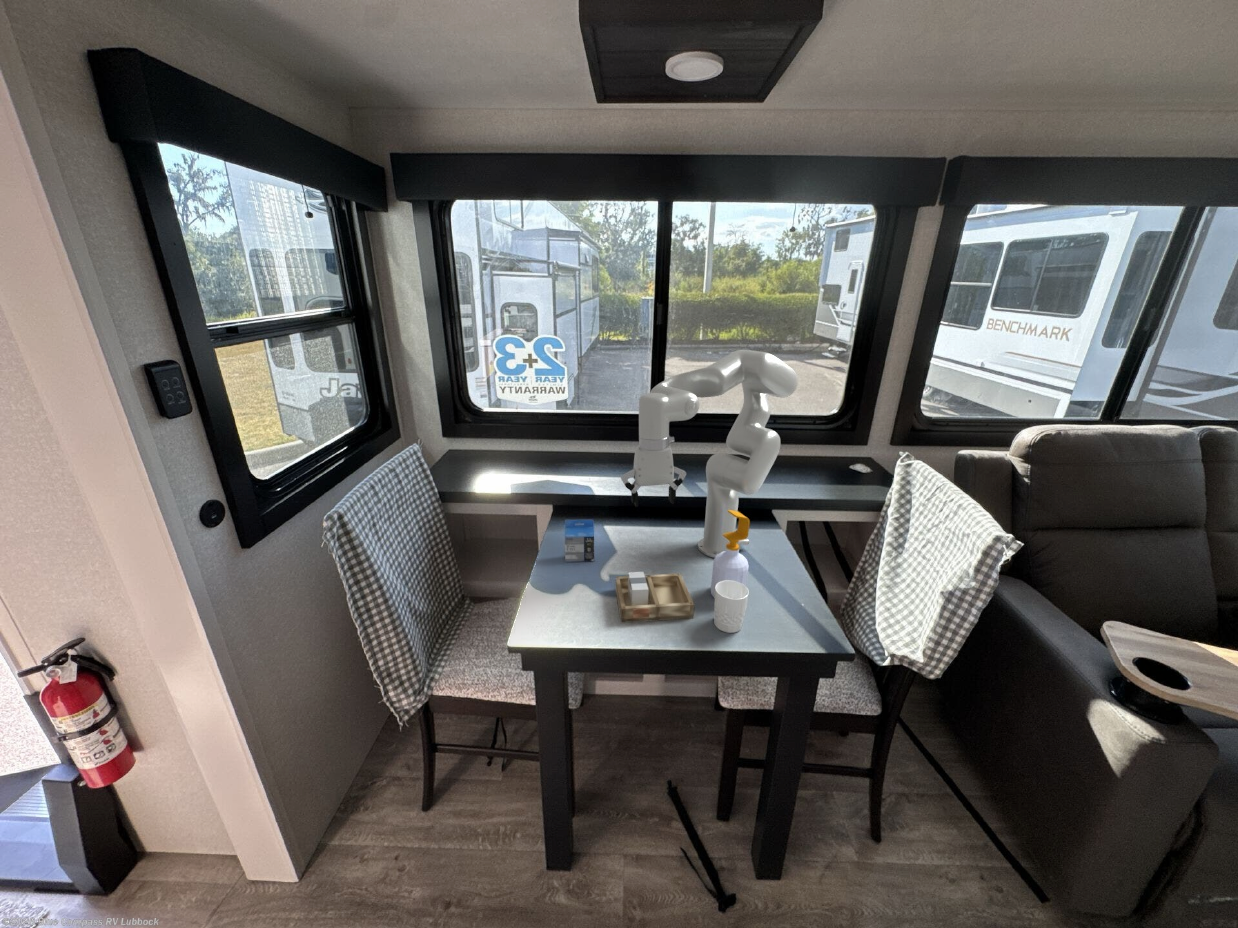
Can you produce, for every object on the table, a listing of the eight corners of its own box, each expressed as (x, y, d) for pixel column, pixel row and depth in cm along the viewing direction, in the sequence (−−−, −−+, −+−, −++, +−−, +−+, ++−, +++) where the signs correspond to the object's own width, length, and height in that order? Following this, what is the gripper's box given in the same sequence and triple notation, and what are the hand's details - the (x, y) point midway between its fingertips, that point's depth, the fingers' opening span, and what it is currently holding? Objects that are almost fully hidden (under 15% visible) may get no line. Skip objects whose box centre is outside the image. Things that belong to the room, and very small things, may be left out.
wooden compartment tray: (679, 585, 132) (680, 572, 130) (693, 618, 118) (694, 605, 117) (615, 588, 129) (615, 576, 128) (621, 623, 116) (621, 609, 114)
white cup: (721, 609, 122) (724, 576, 118) (749, 622, 117) (754, 588, 114) (705, 625, 116) (709, 590, 112) (735, 639, 111) (739, 603, 108)
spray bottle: (704, 588, 130) (711, 507, 122) (732, 582, 134) (741, 502, 125) (722, 607, 123) (731, 521, 114) (751, 600, 126) (762, 516, 117)
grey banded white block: (642, 591, 127) (643, 571, 125) (647, 609, 120) (648, 588, 117) (627, 591, 127) (628, 572, 125) (631, 610, 119) (632, 589, 117)
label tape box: (564, 562, 142) (564, 525, 138) (565, 555, 146) (564, 519, 142) (594, 561, 142) (594, 525, 138) (594, 554, 146) (594, 518, 142)
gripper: (683, 435, 125) (681, 494, 131) (618, 440, 123) (619, 499, 129) (691, 444, 118) (689, 506, 124) (622, 449, 116) (623, 512, 122)
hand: (653, 503), depth 126 cm, fingers open, 9 cm apart
